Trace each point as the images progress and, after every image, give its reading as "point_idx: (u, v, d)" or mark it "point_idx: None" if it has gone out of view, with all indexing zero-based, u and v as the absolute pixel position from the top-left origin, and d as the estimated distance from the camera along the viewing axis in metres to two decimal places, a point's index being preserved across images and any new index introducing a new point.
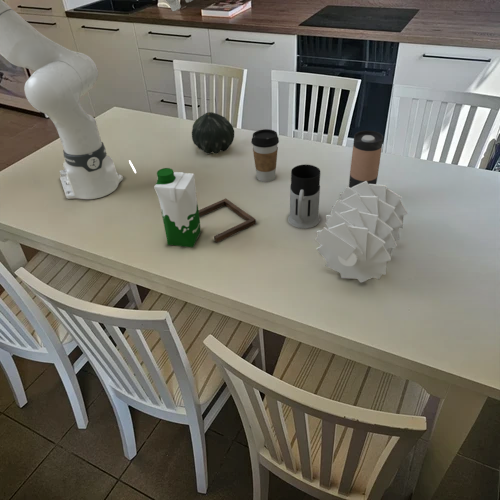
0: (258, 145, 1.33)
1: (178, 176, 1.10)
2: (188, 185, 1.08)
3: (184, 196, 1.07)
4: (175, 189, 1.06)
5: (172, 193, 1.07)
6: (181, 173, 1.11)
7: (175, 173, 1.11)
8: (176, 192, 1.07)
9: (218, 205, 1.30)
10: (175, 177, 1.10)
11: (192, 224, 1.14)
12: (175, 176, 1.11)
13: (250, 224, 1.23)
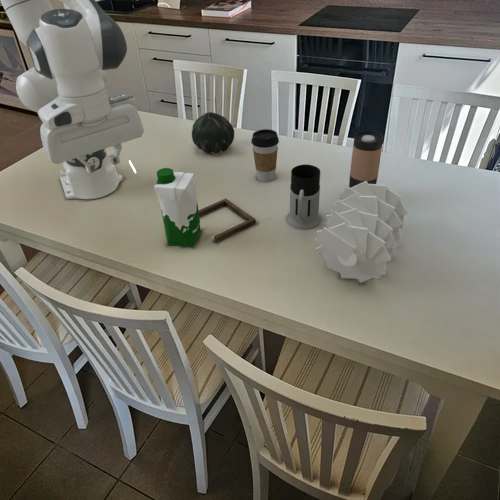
0: (258, 145, 1.33)
1: (178, 176, 1.10)
2: (188, 185, 1.08)
3: (184, 196, 1.07)
4: (175, 189, 1.06)
5: (171, 193, 1.07)
6: (181, 173, 1.11)
7: (175, 173, 1.11)
8: (176, 192, 1.07)
9: (218, 205, 1.30)
10: (175, 177, 1.10)
11: (192, 224, 1.14)
12: (175, 176, 1.11)
13: (250, 224, 1.23)
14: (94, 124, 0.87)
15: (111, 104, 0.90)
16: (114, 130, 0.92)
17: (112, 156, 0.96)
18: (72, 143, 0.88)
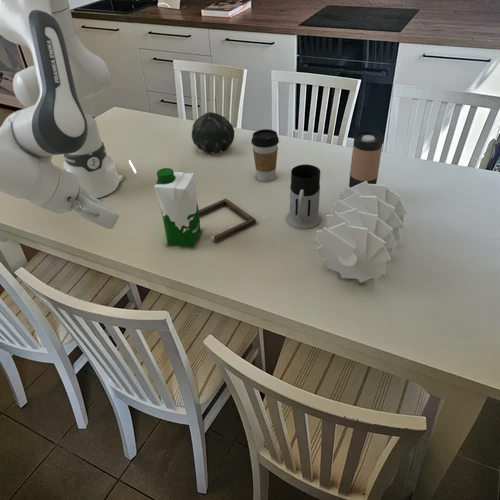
0: (258, 145, 1.33)
1: (178, 176, 1.10)
2: (188, 185, 1.08)
3: (184, 196, 1.07)
4: (175, 189, 1.06)
5: (171, 193, 1.07)
6: (181, 173, 1.11)
7: (175, 173, 1.11)
8: (176, 192, 1.07)
9: (218, 205, 1.30)
10: (175, 177, 1.10)
11: (192, 224, 1.14)
12: (175, 176, 1.11)
13: (250, 224, 1.23)
14: None
15: None
16: None
17: None
18: None
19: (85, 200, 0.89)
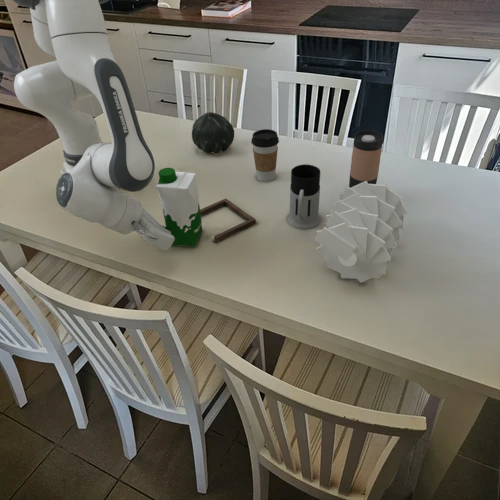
0: (258, 145, 1.33)
1: (179, 176, 1.10)
2: (190, 185, 1.08)
3: (186, 195, 1.07)
4: (177, 189, 1.06)
5: (173, 193, 1.07)
6: (183, 173, 1.11)
7: (177, 173, 1.12)
8: (178, 192, 1.07)
9: (218, 205, 1.30)
10: (177, 177, 1.10)
11: (194, 224, 1.14)
12: (176, 175, 1.11)
13: (250, 224, 1.23)
14: None
15: None
16: None
17: None
18: None
19: (147, 225, 1.01)
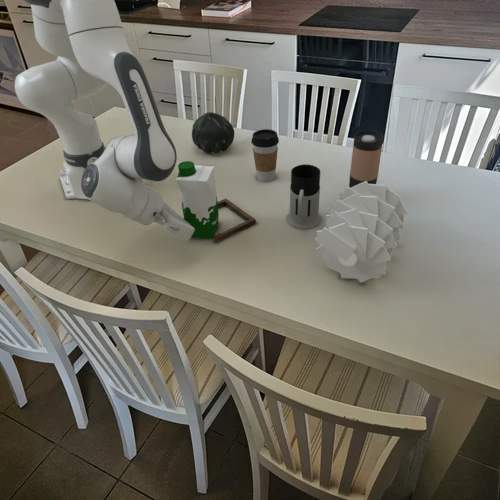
0: (258, 145, 1.33)
1: (198, 169, 1.12)
2: (209, 178, 1.10)
3: (206, 188, 1.10)
4: (197, 182, 1.09)
5: (193, 185, 1.09)
6: (201, 166, 1.14)
7: (195, 166, 1.14)
8: (198, 185, 1.09)
9: (218, 205, 1.30)
10: (196, 170, 1.12)
11: (212, 216, 1.16)
12: (195, 169, 1.13)
13: (250, 224, 1.23)
14: None
15: None
16: None
17: None
18: None
19: (168, 216, 1.04)
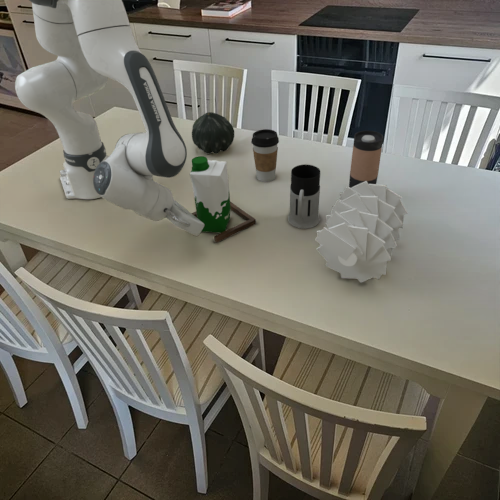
0: (258, 145, 1.33)
1: (211, 164, 1.14)
2: (222, 172, 1.12)
3: (219, 182, 1.11)
4: (210, 176, 1.10)
5: (207, 180, 1.11)
6: (214, 161, 1.15)
7: (208, 161, 1.16)
8: (212, 179, 1.11)
9: None
10: (209, 165, 1.14)
11: (225, 210, 1.18)
12: (208, 164, 1.15)
13: (250, 224, 1.23)
14: None
15: None
16: None
17: None
18: None
19: (179, 212, 1.05)
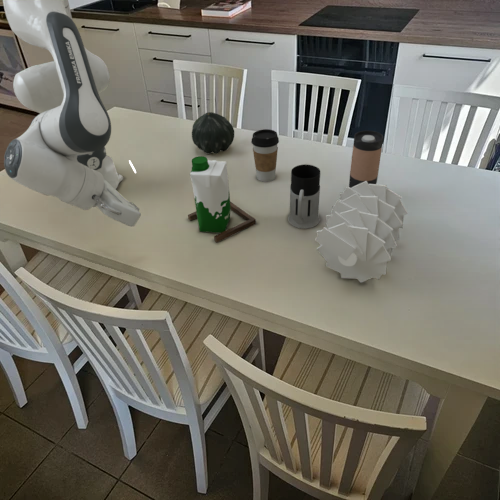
0: (258, 145, 1.33)
1: (211, 164, 1.14)
2: (222, 172, 1.12)
3: (219, 182, 1.11)
4: (210, 176, 1.10)
5: (207, 180, 1.11)
6: (214, 161, 1.15)
7: (208, 161, 1.16)
8: (212, 179, 1.11)
9: None
10: (209, 165, 1.14)
11: (225, 210, 1.18)
12: (208, 164, 1.15)
13: (250, 224, 1.23)
14: None
15: None
16: None
17: None
18: None
19: (109, 199, 0.92)
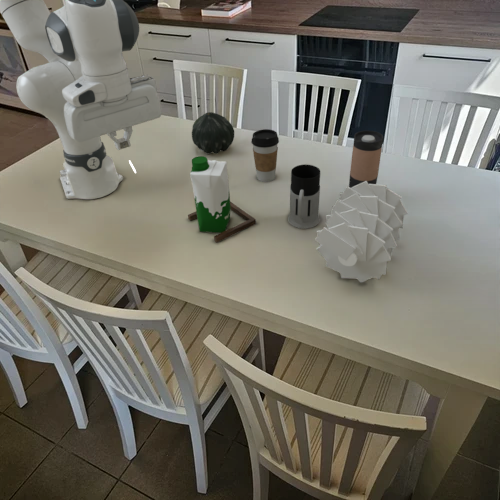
0: (258, 145, 1.33)
1: (211, 164, 1.14)
2: (222, 172, 1.12)
3: (219, 182, 1.11)
4: (210, 176, 1.10)
5: (207, 180, 1.11)
6: (214, 161, 1.15)
7: (208, 161, 1.16)
8: (212, 179, 1.11)
9: None
10: (209, 165, 1.14)
11: (225, 210, 1.18)
12: (208, 164, 1.15)
13: (250, 224, 1.23)
14: (116, 103, 0.90)
15: (132, 84, 0.93)
16: (134, 110, 0.94)
17: (123, 139, 0.98)
18: (94, 121, 0.90)
19: None
